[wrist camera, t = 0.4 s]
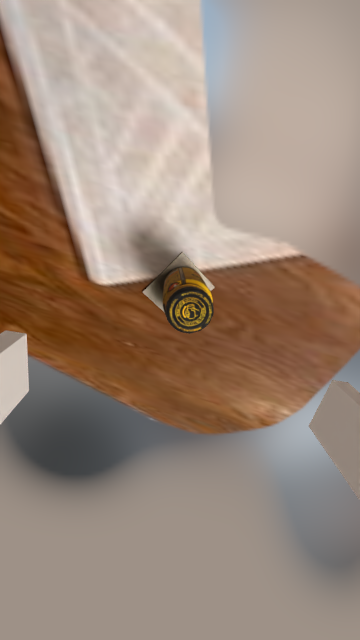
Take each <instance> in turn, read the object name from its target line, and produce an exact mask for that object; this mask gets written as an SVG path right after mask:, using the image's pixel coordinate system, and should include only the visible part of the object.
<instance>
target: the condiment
mask: <svg viewBox="0 0 360 640" xmlns="http://www.w3.org/2000/svg"><path fill="white" fill-rule="evenodd" d="M213 288H215V287H214V286H213V285H212V284H211V283H210V281H209V280H208V279H207V278H206V277H205V276H204V275H203V274H202V273H201V272H200V271H199V270H198V269H197V267H196V266H195V265H194V264H193V263H192V262H191V261H190V260H189V259H188V258H187V257H186V256H185V255H184V254H183V252H182V253H181V254H180V255H179V256H178V257H177V258H176V259H175V260H174V261H173V262H172V263H171V264H170V265H169V266H168V267H167V268H166V269H165V270H164V271H163V272H162V273H161V274H160V275H159V276H158V277H157V278H156V279H155V280H154V281H153V282H152V283H151V284H150V285H149V286H148V287H147V288H146V289H145V290H144V291H143V293H144V294H145V295H146V296H147V297H148V298H149V299H151V300H152V301H153V302H154V303H155V304H156V305H157V306H158V307H159V308H160V309H161V310H163V311H164V312H165V314H166V317H167V320H168V321H169V323H170V324H171V325H172V326H173V327H174V328H175V329H176V330H178V331H180V332H184V333H194V332H197V331H200V330H202V329H203V328H205V327H206V326H207V325H208V324H209V323H210V320H211V318H212V316H213V298H212V295H211V292H210V291H211V290H212V289H213Z"/></svg>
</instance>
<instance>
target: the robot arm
mask: <svg viewBox="0 0 360 640" xmlns="http://www.w3.org/2000/svg"><path fill="white" fill-rule="evenodd" d="M28 391H29V381H28V358H27V335H26V334H25V333H18V332H11V331H4V332H3V333H1V334H0V424H1V423H2V422H3V420H4V419H5V418H6V417H7V416H8V415H9V413H10V412H11V411H12V410H13V409H14V408H15V406H16V405H17V404H18V403H19V402H20V401H21V399H22V398H23V397H24V396H25V395H26V393H27V392H28ZM309 427H310V429H311V430H312V432H313V433H314V435H315V436H316V437H317V439H318V440H319V442H320V443H321V445H322V446H323V448H324V449H325V450H326V452H327V453H328V455H329V456H330V458H331V459H332V460H333V462H334V464H335V465H336V466H337V468H338V469H339V471H340V472H341V474H342V475H343V477H344V478H345V480H346V481H347V482H348V484H349V485H350V487H351V488H352V490H353V491H354V493H355V494H356V495H357V497H358V498H359V500H360V393H359V392H358V391H357V390H356V389H355V388H354V387H352V386H351V385H350V384H349V383H348V382H342V381H335V380H332V382H331V384H330V386H329V388H328V390H327V392H326V394H325V395H324V398H323V399H322V401H321V404H320V405H319V407H318V409H317V411H316V413H315V415H314V417H313V419H312V421H311V423H310V425H309Z"/></svg>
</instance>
